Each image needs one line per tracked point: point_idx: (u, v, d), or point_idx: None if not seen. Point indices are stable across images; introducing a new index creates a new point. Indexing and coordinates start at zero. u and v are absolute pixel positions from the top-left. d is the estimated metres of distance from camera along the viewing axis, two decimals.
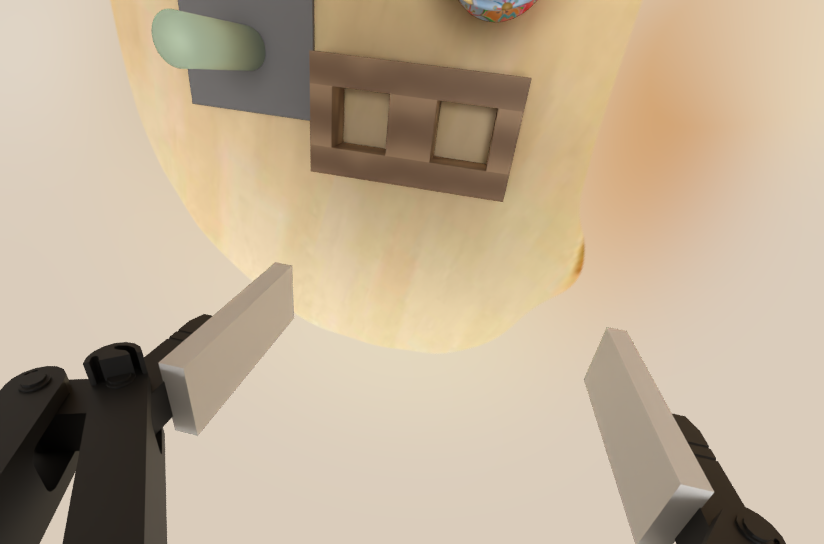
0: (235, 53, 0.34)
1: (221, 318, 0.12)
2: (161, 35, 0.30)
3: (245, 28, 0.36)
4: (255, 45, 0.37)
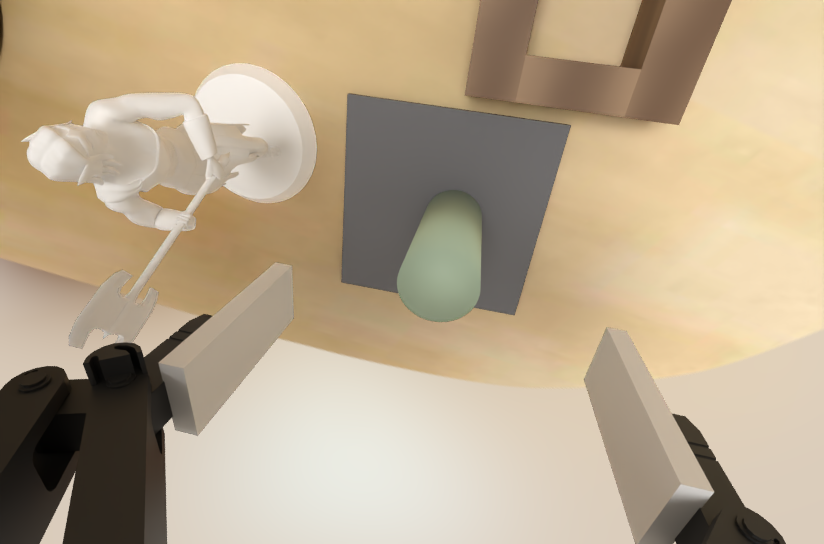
0: (461, 217, 0.21)
1: (221, 318, 0.12)
2: (431, 306, 0.19)
3: (429, 206, 0.25)
4: (451, 197, 0.25)
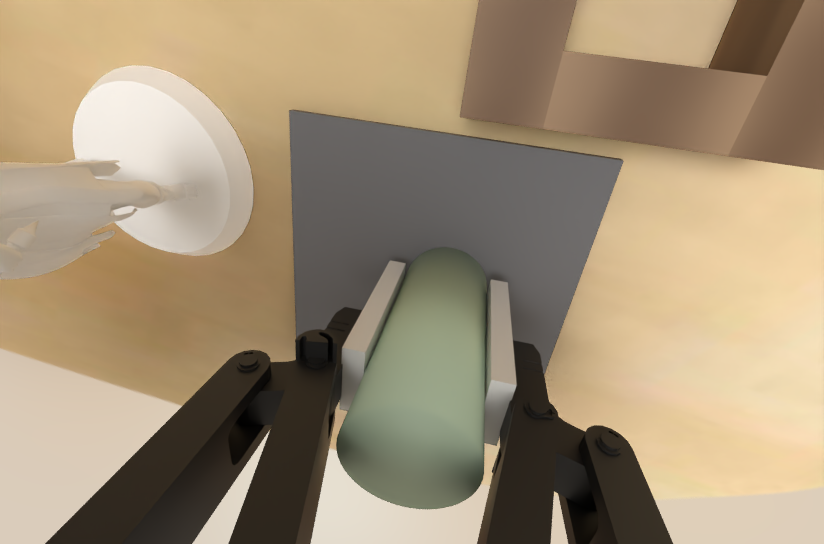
0: (453, 308, 0.14)
1: (372, 310, 0.14)
2: (398, 486, 0.11)
3: (409, 275, 0.17)
4: (441, 263, 0.17)
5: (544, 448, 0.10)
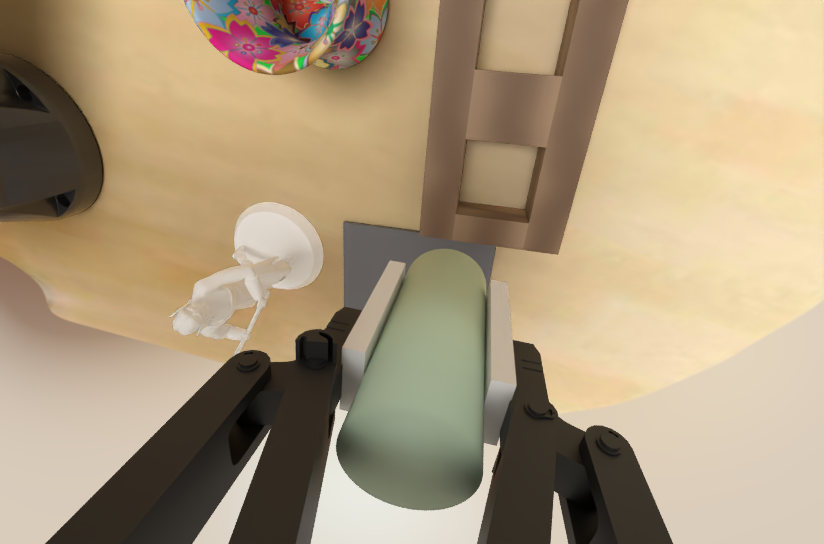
0: (453, 310, 0.14)
1: (372, 310, 0.14)
2: (397, 487, 0.11)
3: (408, 276, 0.17)
4: (440, 264, 0.17)
5: (544, 448, 0.10)
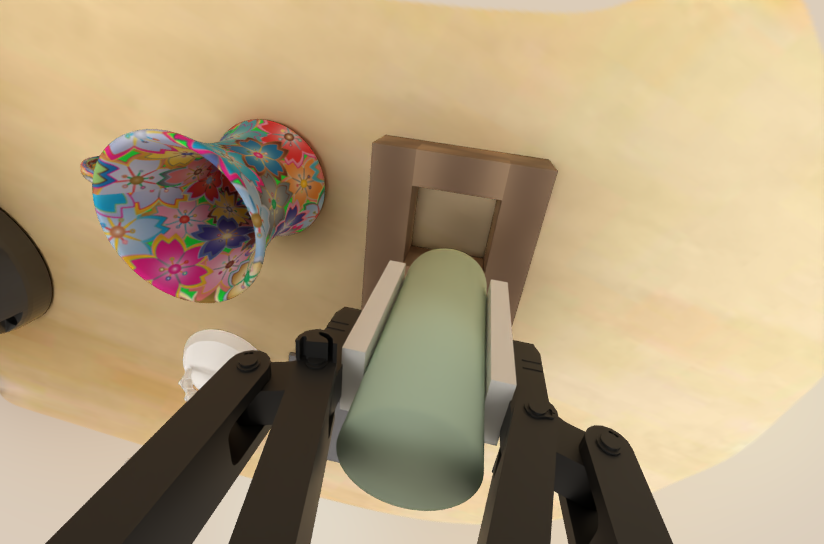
0: (453, 310, 0.14)
1: (372, 310, 0.14)
2: (397, 488, 0.11)
3: (408, 276, 0.17)
4: (440, 264, 0.17)
5: (544, 448, 0.10)
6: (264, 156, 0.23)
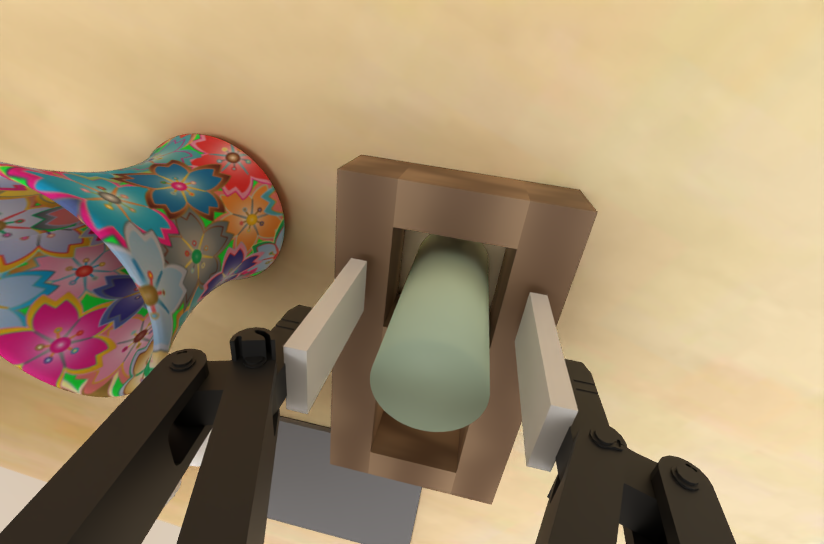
0: (461, 274, 0.16)
1: (322, 308, 0.14)
2: (419, 412, 0.13)
3: (420, 251, 0.19)
4: (448, 240, 0.19)
5: (609, 480, 0.09)
6: (189, 188, 0.17)
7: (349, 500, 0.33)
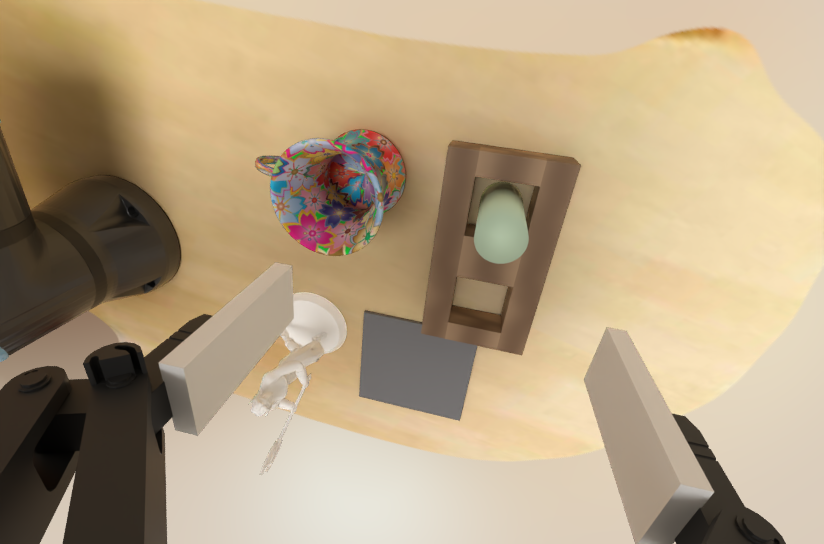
0: (511, 198, 0.32)
1: (221, 318, 0.12)
2: (495, 253, 0.29)
3: (485, 193, 0.35)
4: (501, 186, 0.35)
5: None
6: (372, 156, 0.33)
7: (422, 376, 0.49)
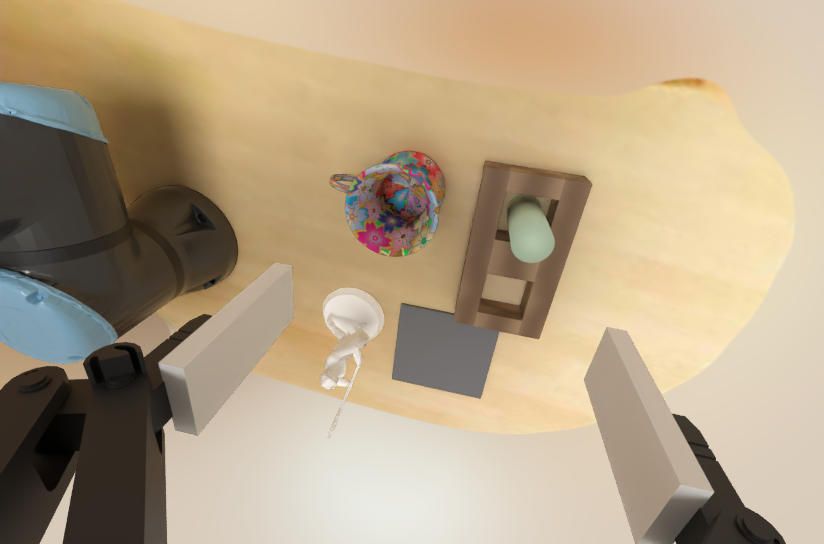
0: (537, 209, 0.40)
1: (221, 318, 0.12)
2: (527, 254, 0.37)
3: (513, 204, 0.43)
4: (526, 199, 0.43)
5: None
6: (423, 175, 0.40)
7: (449, 360, 0.56)
